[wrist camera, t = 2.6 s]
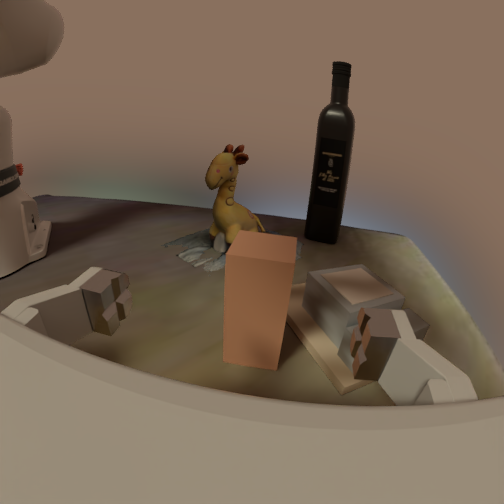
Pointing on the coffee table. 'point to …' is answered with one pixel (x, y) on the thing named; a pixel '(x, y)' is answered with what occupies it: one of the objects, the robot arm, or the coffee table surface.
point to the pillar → (257, 297)
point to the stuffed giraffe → (222, 213)
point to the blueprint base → (319, 344)
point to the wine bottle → (331, 161)
